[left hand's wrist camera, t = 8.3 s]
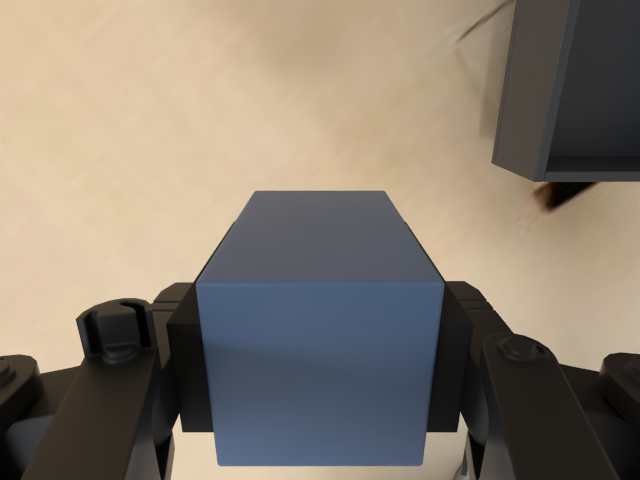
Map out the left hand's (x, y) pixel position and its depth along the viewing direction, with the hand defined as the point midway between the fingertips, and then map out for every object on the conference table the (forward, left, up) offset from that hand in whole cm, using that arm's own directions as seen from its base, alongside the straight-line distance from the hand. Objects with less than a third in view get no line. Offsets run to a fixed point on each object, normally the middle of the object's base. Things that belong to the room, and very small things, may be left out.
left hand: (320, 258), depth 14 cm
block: (0, 0, 0) cm, 0 cm away
